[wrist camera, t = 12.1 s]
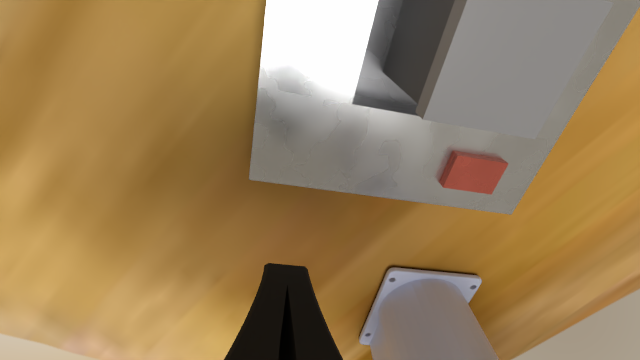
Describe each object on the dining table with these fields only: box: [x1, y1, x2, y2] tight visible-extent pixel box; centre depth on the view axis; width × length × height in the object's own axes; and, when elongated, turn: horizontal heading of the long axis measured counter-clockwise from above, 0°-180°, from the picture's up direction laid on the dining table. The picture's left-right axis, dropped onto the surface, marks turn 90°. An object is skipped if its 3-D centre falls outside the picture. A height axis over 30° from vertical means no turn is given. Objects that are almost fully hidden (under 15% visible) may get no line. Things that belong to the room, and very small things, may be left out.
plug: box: [383, 0, 614, 139], centre depth 13 cm, size 4×4×7 cm
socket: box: [249, 0, 640, 214], centre depth 16 cm, size 14×16×3 cm
